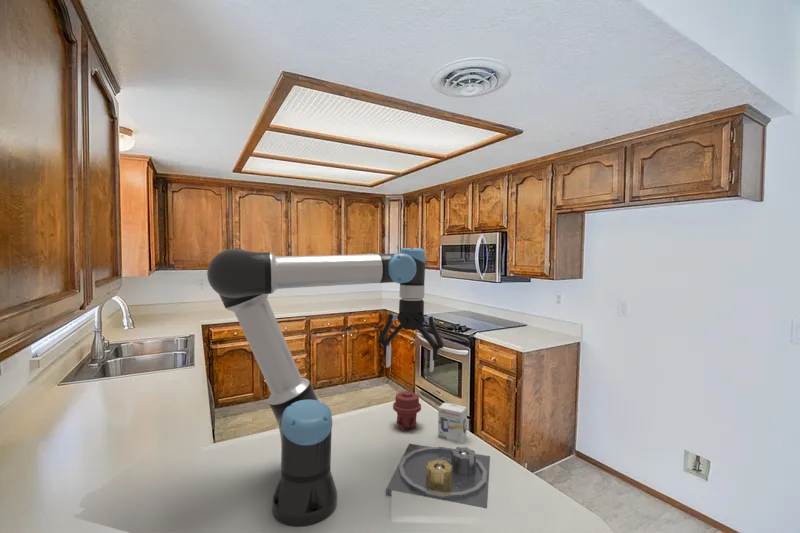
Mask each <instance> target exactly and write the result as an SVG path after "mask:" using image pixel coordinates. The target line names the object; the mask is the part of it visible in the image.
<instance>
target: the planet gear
mask: <svg viewBox="0 0 800 533" xmlns="http://www.w3.org/2000/svg"><path fill="white" fill-rule="evenodd" d="M438 465H440V466H442V469H441V470H440V469H436V467H437V466H438ZM451 484H452V465H450V464H448V463H447V461H440V460H434V461H431V462H430V461H429V462H428V466H426V485H428V486H429V487H430V489H432V490H439V491H444V490H446V489H450V488H451Z"/></svg>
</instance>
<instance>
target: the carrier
mask: <svg viewBox="0 0 800 533" xmlns="http://www.w3.org/2000/svg"><path fill="white" fill-rule="evenodd" d="M454 449H455V448H449V447H444V446H426V445H422V444H421V445H420V444H414V443H408V445H407V448H405V450H404V451H405V452H404V453H403V455H402V457H401V458H400V461H399V463H398V465H397V467H396V469H395V471H394V473H393V475H392V477H391V479H390V481H389V482H388V485H387V487H386V490H385V496H390V497H392V491H394V492H400V493H404V494H410V495H414V496H418V497H419V496H420V497H423V498H424V497H425V498H430V499H434V500H440V501H445V502H451V503H456V504H457V503H458V504H463V505H467V506H471V507H478V508H483V509H488V500H489V499H488V496H489V479H490V478H489V477H490V467H491V466H490V462H491V456H489V455H485V454H479V453H478V454H477V453H475V455H476V472H473V473H472V474H471V475H459V473H457V472H455V471H453V470H452V484H451V488H450V489H446V490H444V491H439V490H432V489H430V487H429V486H428V485H426V466H428V462H429V461H430V462H431V461H434V460H440V461H447V463H448V464H450V465H451V460H452V450H454ZM461 455H467V453H466V452H464V451H463V452H461ZM436 469H440V470H441V469H442V466H440V465H438V466H437V467H436Z"/></svg>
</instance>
